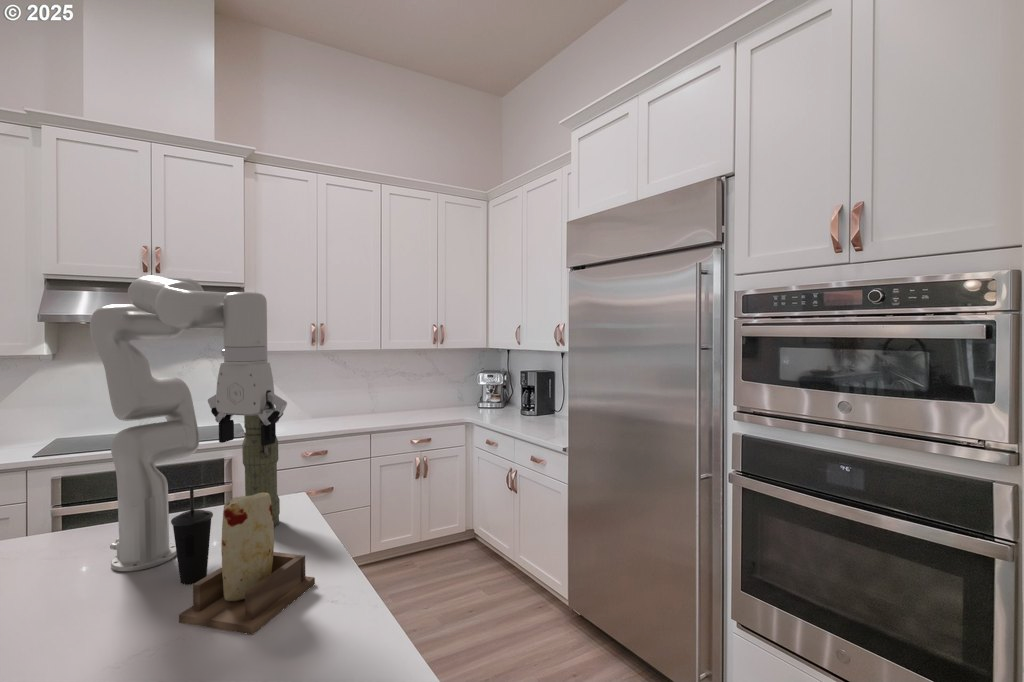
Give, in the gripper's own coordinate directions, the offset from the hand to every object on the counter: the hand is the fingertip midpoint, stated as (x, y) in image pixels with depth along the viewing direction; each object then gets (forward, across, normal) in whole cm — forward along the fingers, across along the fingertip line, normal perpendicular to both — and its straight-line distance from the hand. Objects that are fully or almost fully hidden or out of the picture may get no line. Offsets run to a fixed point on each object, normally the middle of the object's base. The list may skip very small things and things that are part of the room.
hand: (247, 442), depth 100 cm
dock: (+32, +1, 0) cm, 32 cm away
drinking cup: (+32, -18, +5) cm, 37 cm away
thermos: (+32, -25, +34) cm, 53 cm away
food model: (+31, 0, 0) cm, 31 cm away
